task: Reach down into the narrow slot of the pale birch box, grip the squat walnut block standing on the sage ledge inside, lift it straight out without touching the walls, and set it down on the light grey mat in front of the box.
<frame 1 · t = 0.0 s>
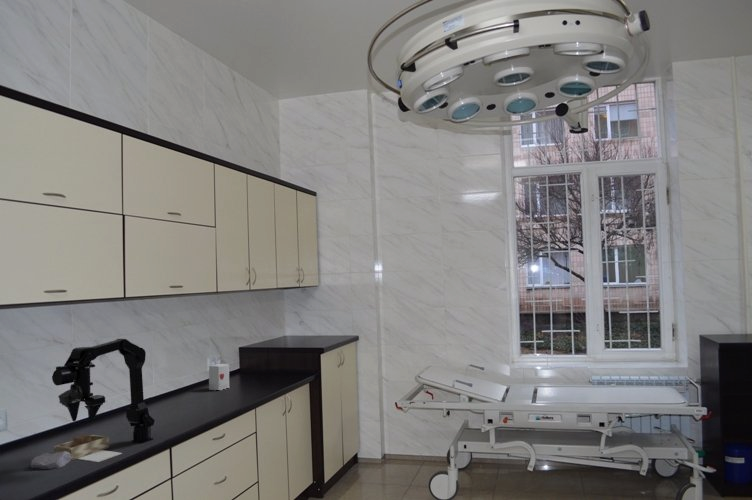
hand: (82, 422, 218), 15 cm above the worktop, tool pointing down, fingers open, 9 cm apart
walnut block: (82, 446, 228), point 2 cm above the worktop, touching slot box
stone block: (49, 466, 214), on the worktop
supplement box: (219, 389, 355), on the worktop
slot box: (82, 452, 228), on the worktop
grey mat: (100, 456, 222), on the worktop
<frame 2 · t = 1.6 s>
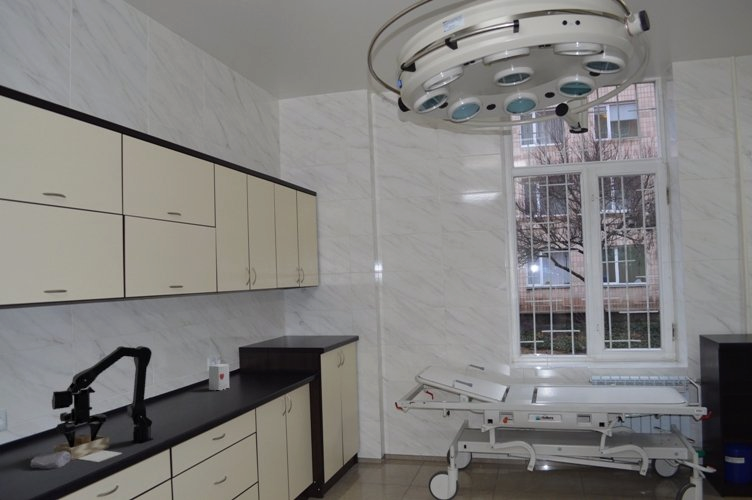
hand: (82, 444, 228), 3 cm above the worktop, tool pointing down, fingers open, 9 cm apart
nothing on the worktop moved.
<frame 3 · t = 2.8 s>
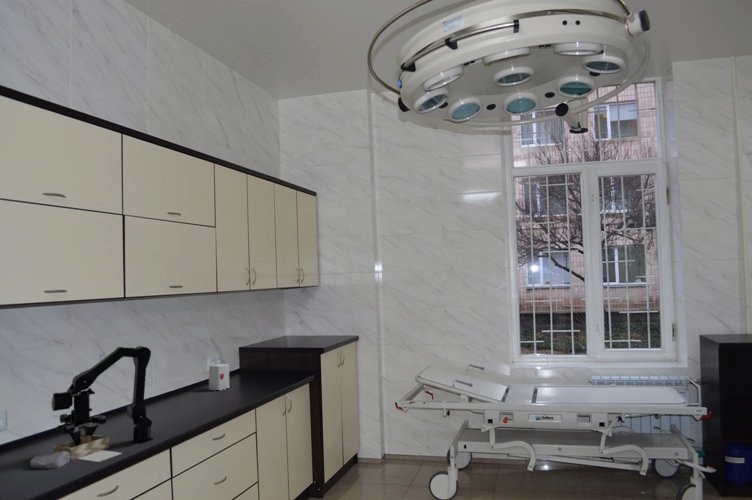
hand: (82, 446, 228), 3 cm above the worktop, tool pointing down, fingers closed on walnut block, 4 cm apart
walnut block: (82, 446, 228), point 3 cm above the worktop, touching gripper, slot box
everything else where it was.
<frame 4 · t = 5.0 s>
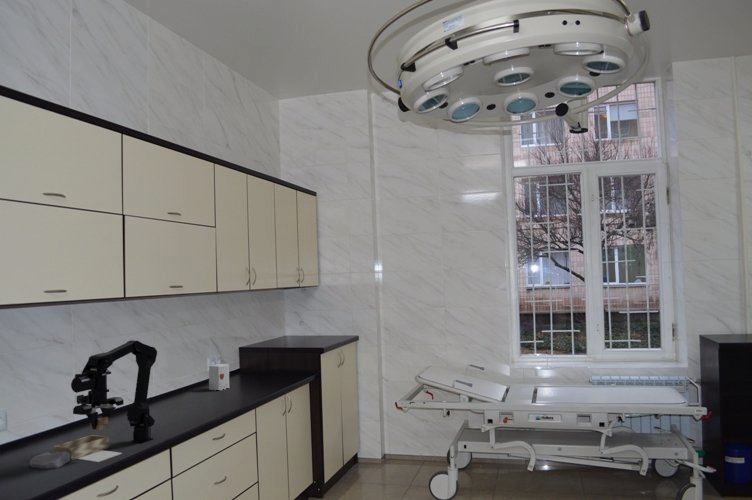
hand: (99, 427, 223), 11 cm above the worktop, tool pointing down, fingers closed on walnut block, 4 cm apart
walnut block: (99, 428, 223), point 11 cm above the worktop, touching gripper
everything else where it was.
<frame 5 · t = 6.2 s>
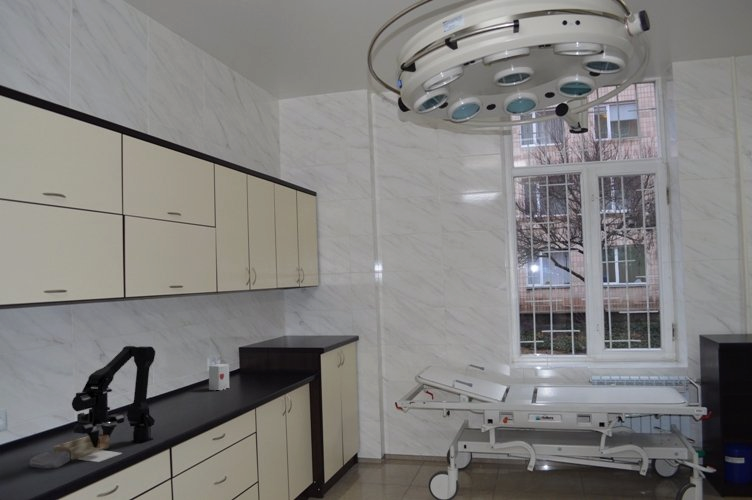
hand: (100, 446, 223), 4 cm above the worktop, tool pointing down, fingers closed on walnut block, 4 cm apart
walnut block: (100, 446, 223), point 4 cm above the worktop, touching gripper
stone block: (48, 466, 214), on the worktop, touching slot box
everything else where it was.
when the fingers open (2 cm above the worktop, at t = 7.3 s): walnut block drops 2 cm, resting on grey mat.
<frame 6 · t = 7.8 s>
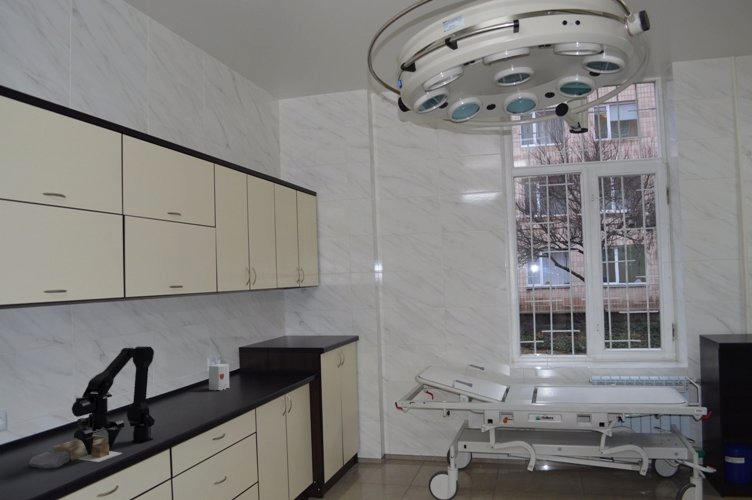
hand: (100, 451, 222), 2 cm above the worktop, tool pointing down, fingers open, 9 cm apart
walnut block: (100, 455, 222), resting on grey mat
stone block: (48, 465, 215), on the worktop
everything else where it was.
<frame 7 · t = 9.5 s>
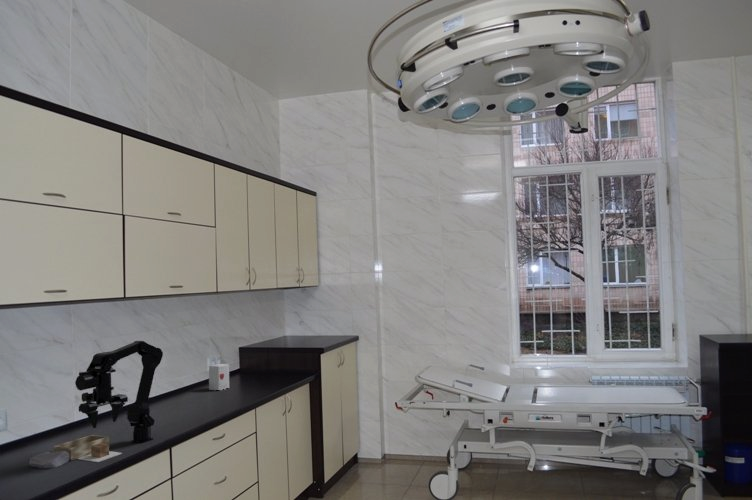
hand: (104, 424, 227), 11 cm above the worktop, tool pointing down, fingers open, 9 cm apart
nothing on the worktop moved.
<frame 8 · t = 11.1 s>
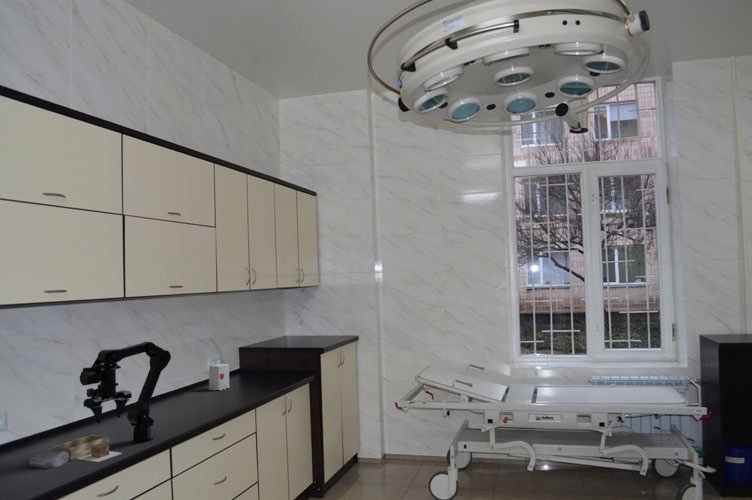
hand: (108, 420, 231), 12 cm above the worktop, tool pointing down, fingers open, 9 cm apart
nothing on the worktop moved.
at the end: walnut block inside the target area on the grey mat (0.0 cm from its centre), point 0.3 cm above the grey mat's base; walnut block tilted 0°; walnut block touching grey mat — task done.
